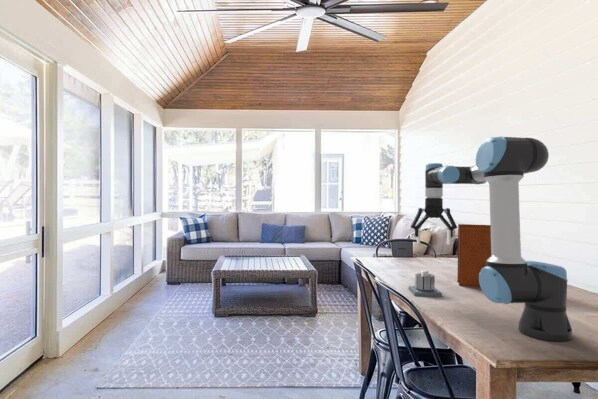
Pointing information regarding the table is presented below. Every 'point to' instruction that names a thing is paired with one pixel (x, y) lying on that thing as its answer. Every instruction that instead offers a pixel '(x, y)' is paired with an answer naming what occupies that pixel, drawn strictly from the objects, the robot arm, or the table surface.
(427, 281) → the hub
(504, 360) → the table surface
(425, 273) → the shaft block
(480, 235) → the book
